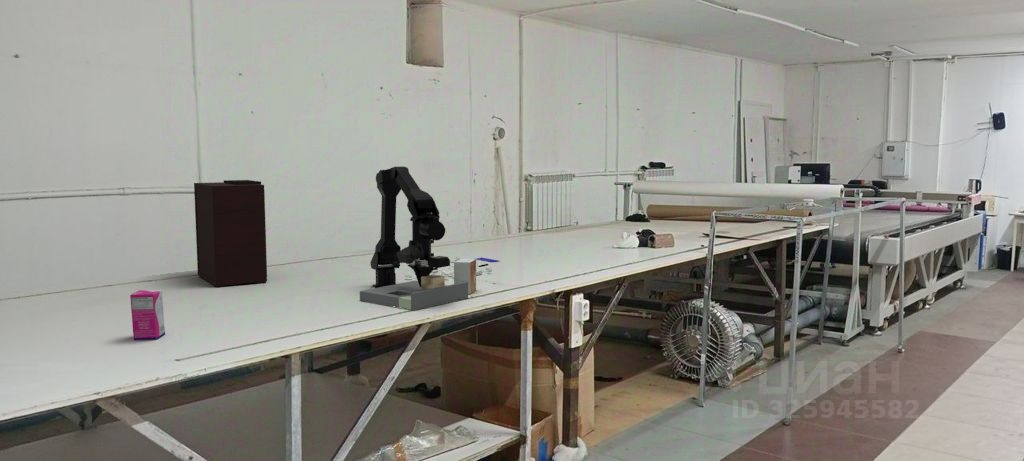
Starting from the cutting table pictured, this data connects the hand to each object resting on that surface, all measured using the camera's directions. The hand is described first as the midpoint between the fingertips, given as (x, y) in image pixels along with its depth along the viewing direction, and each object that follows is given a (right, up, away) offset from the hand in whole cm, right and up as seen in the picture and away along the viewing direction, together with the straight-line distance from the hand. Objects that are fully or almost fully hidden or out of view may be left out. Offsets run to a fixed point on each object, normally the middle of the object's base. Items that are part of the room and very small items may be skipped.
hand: (421, 287), depth 236 cm
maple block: (+4, -2, -3) cm, 5 cm away
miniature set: (+6, 0, +46) cm, 46 cm away
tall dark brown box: (-71, 0, +37) cm, 80 cm away
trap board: (-3, -4, +3) cm, 6 cm away
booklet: (+9, +4, +80) cm, 80 cm away
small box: (+12, -3, +15) cm, 20 cm away
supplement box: (-62, -9, -46) cm, 78 cm away
